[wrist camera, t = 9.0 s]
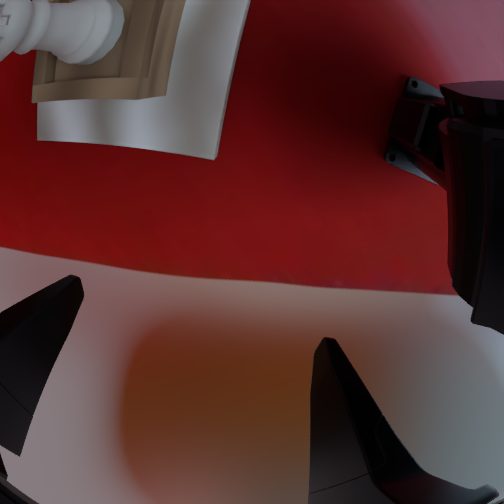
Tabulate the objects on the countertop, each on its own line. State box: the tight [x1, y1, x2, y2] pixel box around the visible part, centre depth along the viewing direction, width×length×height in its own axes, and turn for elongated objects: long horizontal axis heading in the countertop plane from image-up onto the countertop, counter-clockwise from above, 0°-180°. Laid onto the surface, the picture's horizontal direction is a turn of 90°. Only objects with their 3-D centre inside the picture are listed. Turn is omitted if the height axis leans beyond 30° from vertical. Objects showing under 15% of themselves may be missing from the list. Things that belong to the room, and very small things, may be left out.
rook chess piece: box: [0, 0, 124, 65], centre depth 6 cm, size 4×4×8 cm
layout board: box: [32, 0, 251, 160], centre depth 11 cm, size 16×16×5 cm
